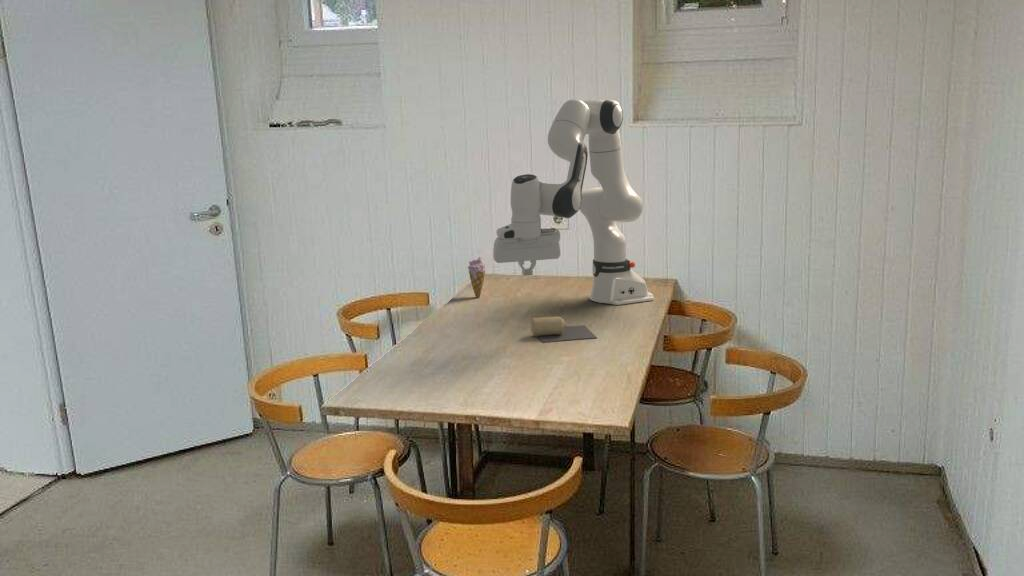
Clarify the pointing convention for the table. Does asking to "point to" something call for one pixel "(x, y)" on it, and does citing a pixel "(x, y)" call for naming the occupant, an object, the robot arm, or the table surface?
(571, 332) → the mat
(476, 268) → the ice cream cone
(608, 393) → the table surface
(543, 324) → the candle
